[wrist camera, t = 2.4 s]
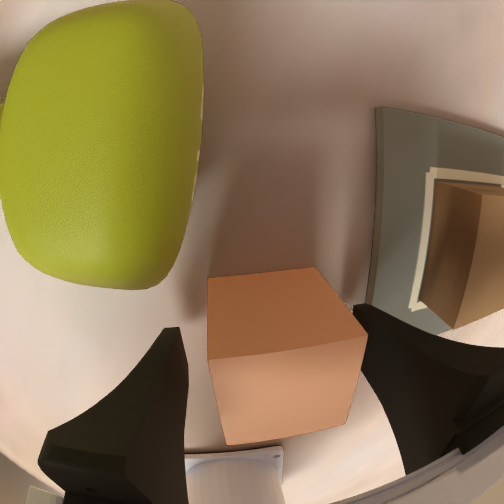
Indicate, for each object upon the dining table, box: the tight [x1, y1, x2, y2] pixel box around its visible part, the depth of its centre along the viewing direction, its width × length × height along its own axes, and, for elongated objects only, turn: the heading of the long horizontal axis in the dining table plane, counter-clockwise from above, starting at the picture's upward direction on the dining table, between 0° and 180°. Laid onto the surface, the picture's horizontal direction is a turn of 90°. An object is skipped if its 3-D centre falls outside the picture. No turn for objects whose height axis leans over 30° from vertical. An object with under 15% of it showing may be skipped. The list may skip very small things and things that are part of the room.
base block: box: [419, 181, 504, 330], centre depth 11 cm, size 6×6×3 cm
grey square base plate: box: [366, 107, 504, 335], centre depth 12 cm, size 12×12×1 cm
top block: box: [207, 267, 368, 445], centre depth 10 cm, size 4×4×5 cm
